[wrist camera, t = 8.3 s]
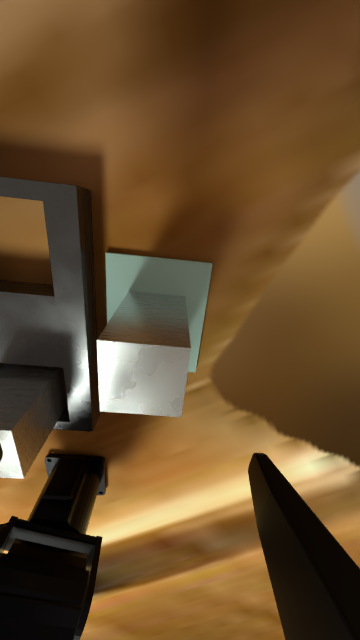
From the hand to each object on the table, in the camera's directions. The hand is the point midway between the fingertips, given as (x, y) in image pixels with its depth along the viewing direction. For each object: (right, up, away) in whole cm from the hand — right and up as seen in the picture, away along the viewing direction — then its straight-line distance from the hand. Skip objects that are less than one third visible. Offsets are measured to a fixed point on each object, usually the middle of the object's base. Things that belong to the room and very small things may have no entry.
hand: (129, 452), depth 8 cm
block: (-11, -1, +14) cm, 18 cm away
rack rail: (-10, +5, +11) cm, 16 cm away
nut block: (0, +5, +11) cm, 12 cm away
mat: (0, +5, +11) cm, 12 cm away
